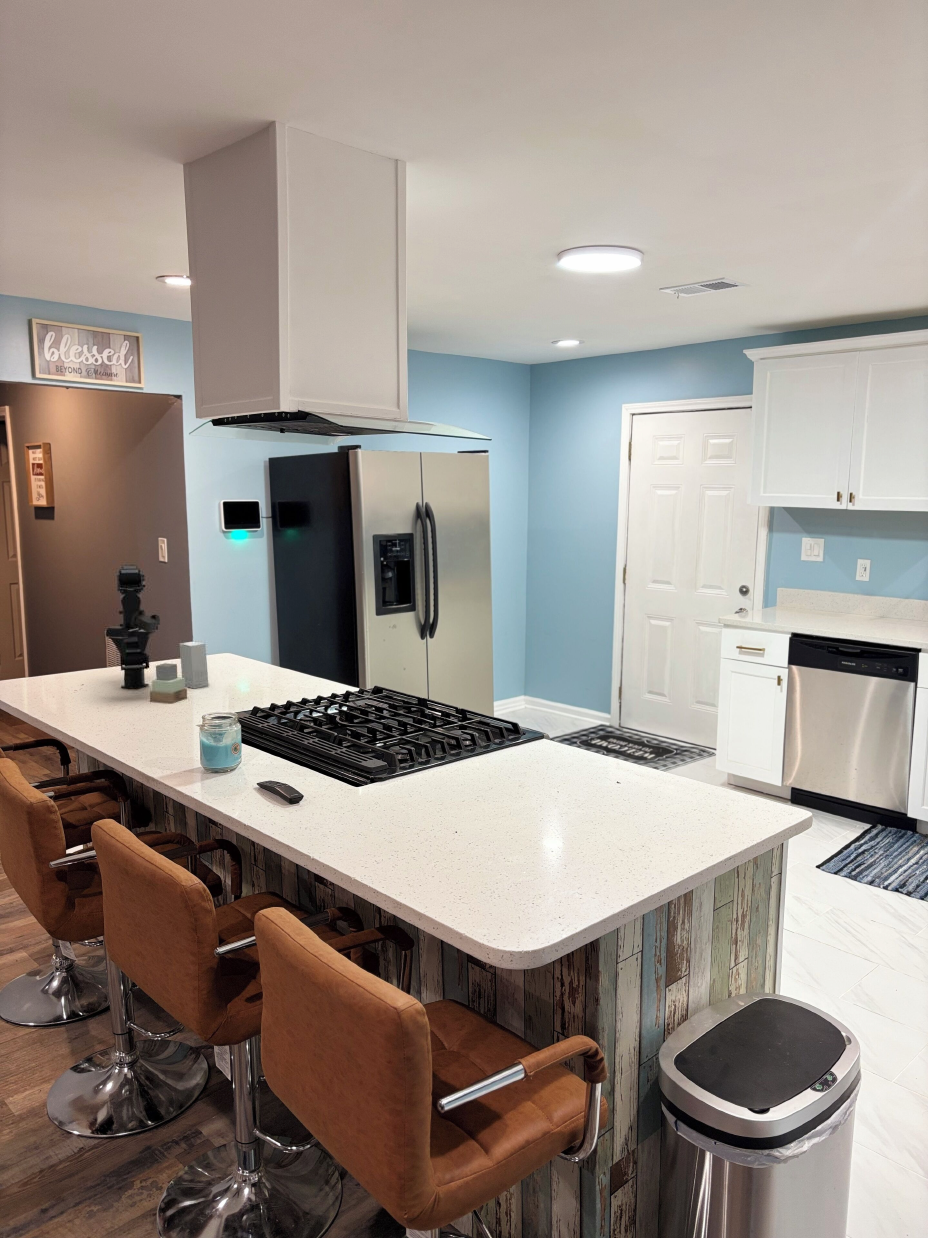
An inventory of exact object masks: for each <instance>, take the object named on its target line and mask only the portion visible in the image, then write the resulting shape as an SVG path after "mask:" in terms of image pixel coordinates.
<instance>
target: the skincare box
mask: <svg viewBox="0 0 928 1238" xmlns="http://www.w3.org/2000/svg"><path fill="white" fill-rule="evenodd" d="M179 653H180V654H179V656H180V667H181V669H180V670H181V678H185V687H188V688H191V689H198V688H206V687H209V686H210V685H209V676H208V662H207V661H208V658H207V646H206V643H205V642H204V643H203V642H199V641H198V642H197V641H189V642H187V641H186V642H182V643H181V642H180V643H179Z"/></svg>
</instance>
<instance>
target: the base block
mask: <svg viewBox="0 0 928 1238" xmlns="http://www.w3.org/2000/svg"><path fill="white" fill-rule="evenodd" d="M186 699H188V688H186V687H185V689H183V690H179V691H176V692H173V693H164V692H153V691H152V690H150V691H149V702H150V703H162V704H174V703H177V702H180V701H182V700H186Z"/></svg>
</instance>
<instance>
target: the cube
mask: <svg viewBox="0 0 928 1238" xmlns="http://www.w3.org/2000/svg"><path fill="white" fill-rule="evenodd" d="M155 677H156V680H164V681H170V680H173V679H176V678H177V677H178V664H177V663H167V662H165V663H161V664H157V665H155Z"/></svg>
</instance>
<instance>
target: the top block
mask: <svg viewBox="0 0 928 1238" xmlns="http://www.w3.org/2000/svg"><path fill="white" fill-rule="evenodd" d="M151 685H152V686H151V687H152V688H151V689H152V690H151V691H153V692H164V693H173V692H176V691H179V690H183V689H185V688H186V686H185V678H182V677H178V676H177V678H176V679H173V680H170V681H164V680H156V679H153V680H152V681H151Z"/></svg>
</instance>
